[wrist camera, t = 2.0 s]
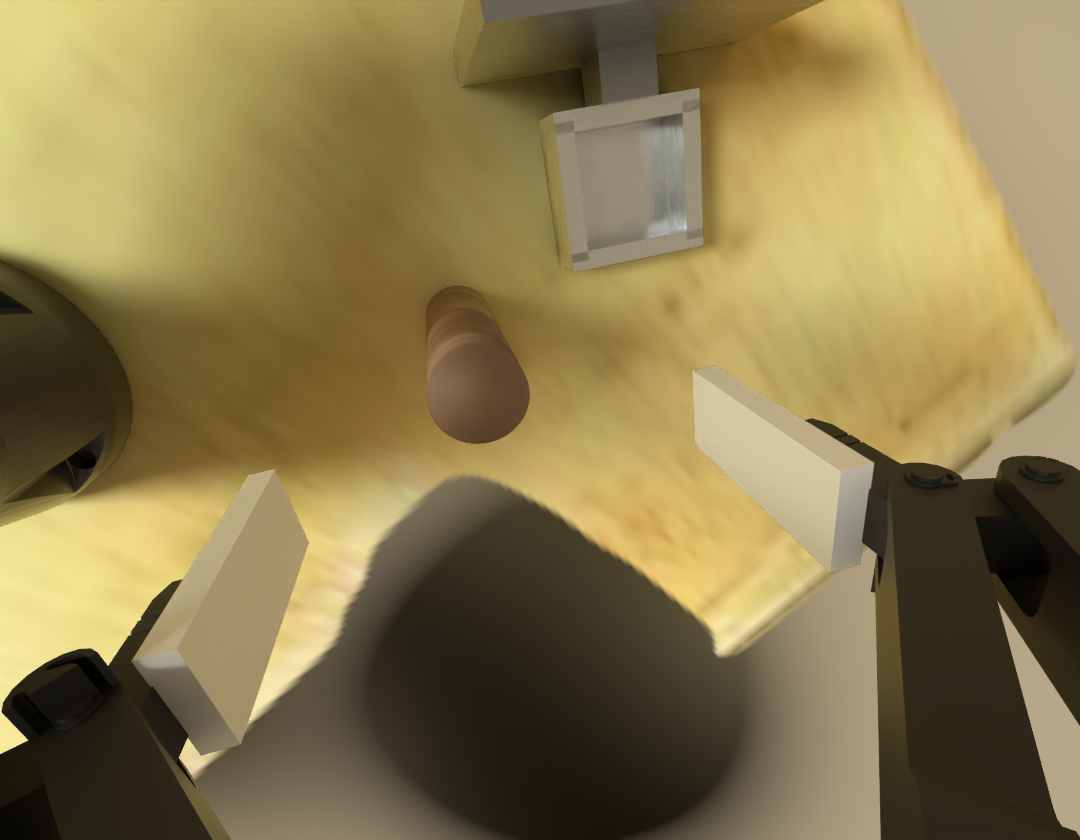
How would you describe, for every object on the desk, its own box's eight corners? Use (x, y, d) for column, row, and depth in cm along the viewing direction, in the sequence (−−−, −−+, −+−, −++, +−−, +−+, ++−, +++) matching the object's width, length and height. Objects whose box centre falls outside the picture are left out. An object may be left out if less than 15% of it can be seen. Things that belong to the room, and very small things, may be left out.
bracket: (498, 276, 32) (535, 321, 21) (453, 51, 27) (473, -39, 16) (733, 228, 34) (876, 246, 23) (734, 8, 29) (917, -98, 18)
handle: (435, 354, 33) (442, 453, 21) (418, 293, 32) (415, 361, 19) (495, 341, 34) (537, 430, 21) (482, 280, 32) (519, 338, 20)
